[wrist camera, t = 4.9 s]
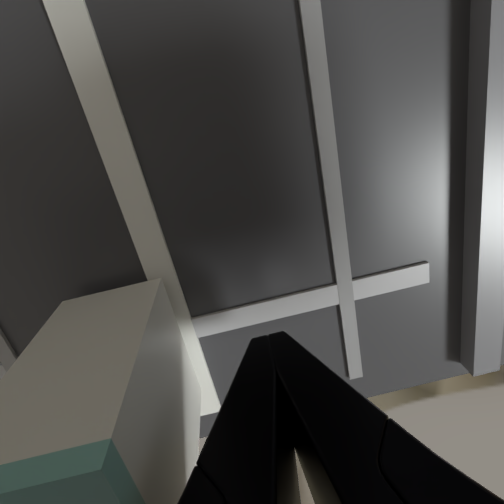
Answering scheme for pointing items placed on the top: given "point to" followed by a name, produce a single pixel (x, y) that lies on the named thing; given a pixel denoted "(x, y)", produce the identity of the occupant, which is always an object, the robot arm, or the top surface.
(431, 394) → the top surface
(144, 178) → the console
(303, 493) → the top surface
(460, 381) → the top surface
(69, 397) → the fader teal
